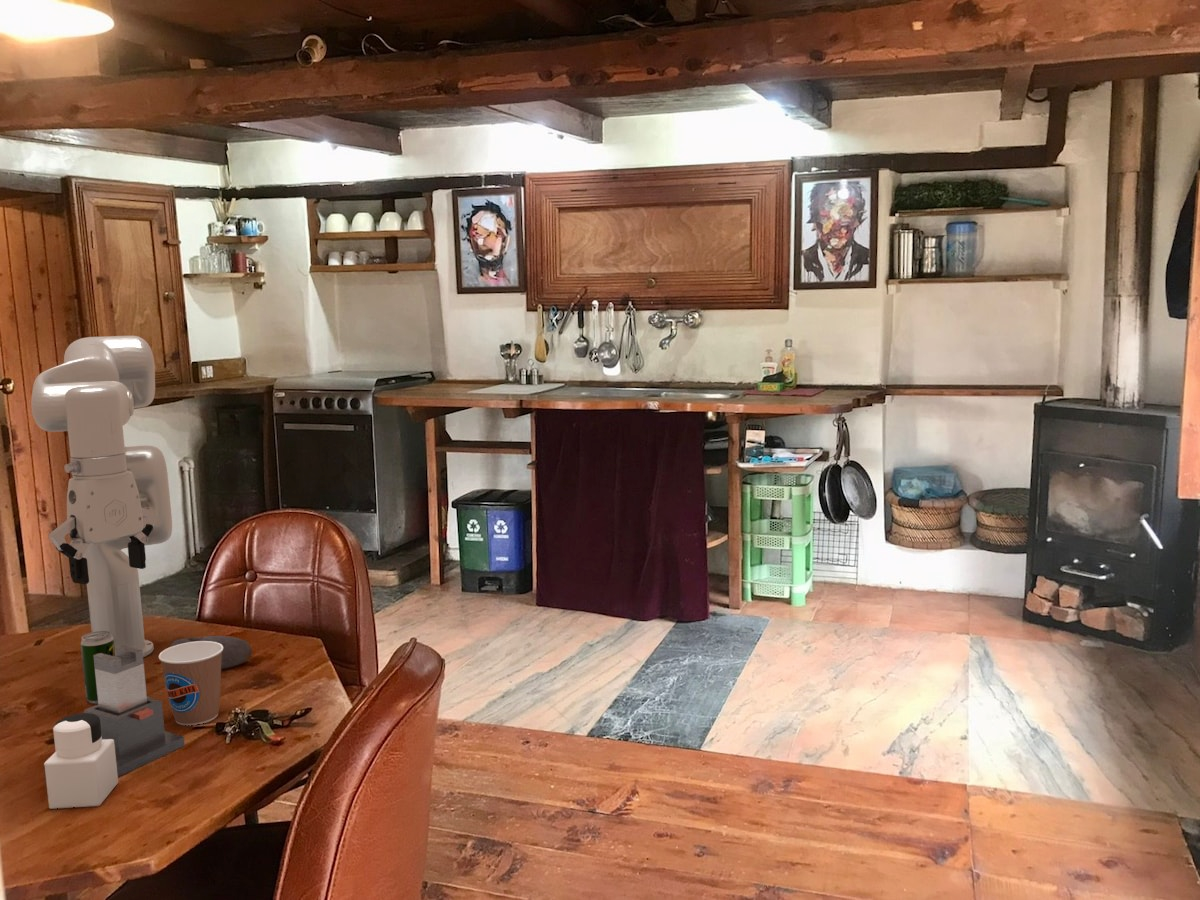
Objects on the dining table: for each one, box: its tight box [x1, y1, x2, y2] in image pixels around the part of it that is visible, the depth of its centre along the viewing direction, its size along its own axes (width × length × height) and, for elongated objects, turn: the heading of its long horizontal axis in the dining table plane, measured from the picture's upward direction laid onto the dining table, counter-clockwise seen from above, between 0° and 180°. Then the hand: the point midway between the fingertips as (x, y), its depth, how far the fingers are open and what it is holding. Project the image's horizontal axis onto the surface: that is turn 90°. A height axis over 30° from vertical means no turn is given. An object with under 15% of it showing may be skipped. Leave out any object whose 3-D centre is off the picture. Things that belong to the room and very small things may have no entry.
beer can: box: [80, 631, 115, 705], centre depth 182 cm, size 5×5×12 cm
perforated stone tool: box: [170, 635, 252, 670], centre depth 196 cm, size 15×5×7 cm, turn 112°
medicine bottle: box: [43, 712, 119, 810], centre depth 146 cm, size 7×7×12 cm
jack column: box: [93, 645, 148, 716], centre depth 160 cm, size 5×5×15 cm
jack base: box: [83, 696, 186, 778], centre depth 160 cm, size 12×12×8 cm
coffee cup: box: [158, 641, 223, 727], centre depth 173 cm, size 10×10×12 cm
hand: (110, 575), depth 157 cm, fingers open, 9 cm apart
